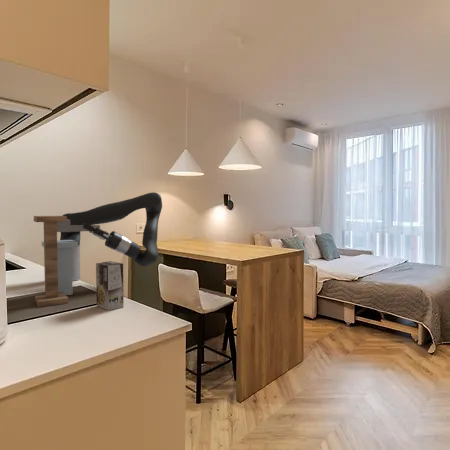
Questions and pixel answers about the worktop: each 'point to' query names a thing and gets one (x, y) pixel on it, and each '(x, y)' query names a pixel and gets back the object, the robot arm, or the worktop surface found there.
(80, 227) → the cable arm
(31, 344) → the worktop surface
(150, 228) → the robot arm
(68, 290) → the slate stand
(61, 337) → the worktop surface
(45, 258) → the wooden pedestal stand
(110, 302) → the coffee box
